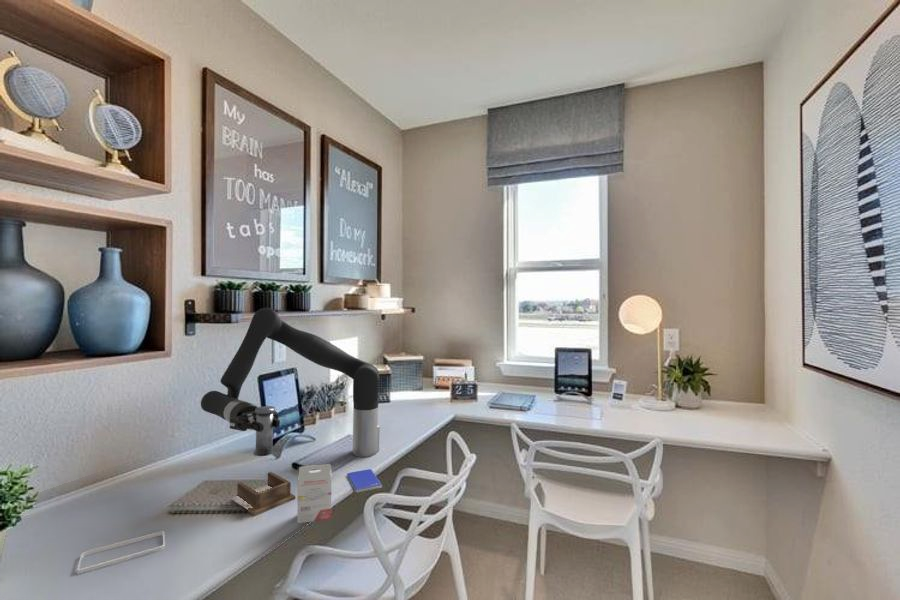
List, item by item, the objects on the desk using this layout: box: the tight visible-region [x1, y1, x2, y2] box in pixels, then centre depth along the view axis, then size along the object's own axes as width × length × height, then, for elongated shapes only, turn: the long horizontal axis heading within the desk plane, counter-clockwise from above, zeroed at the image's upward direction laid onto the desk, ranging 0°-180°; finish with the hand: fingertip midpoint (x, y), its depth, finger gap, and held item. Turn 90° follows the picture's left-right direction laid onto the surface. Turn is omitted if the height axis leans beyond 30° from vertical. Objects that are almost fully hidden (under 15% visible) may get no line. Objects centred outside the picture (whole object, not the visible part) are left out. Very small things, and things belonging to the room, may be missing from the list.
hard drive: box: [346, 468, 383, 493], centre depth 128 cm, size 2×8×12 cm
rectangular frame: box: [76, 530, 166, 575], centre depth 90 cm, size 7×1×15 cm
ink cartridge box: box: [296, 463, 333, 524], centre depth 107 cm, size 9×5×15 cm, turn 106°
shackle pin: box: [255, 405, 276, 457], centre depth 115 cm, size 5×5×13 cm
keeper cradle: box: [236, 471, 296, 517], centre depth 115 cm, size 12×13×5 cm
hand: (269, 426), depth 114 cm, fingers closed on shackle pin, 4 cm apart
